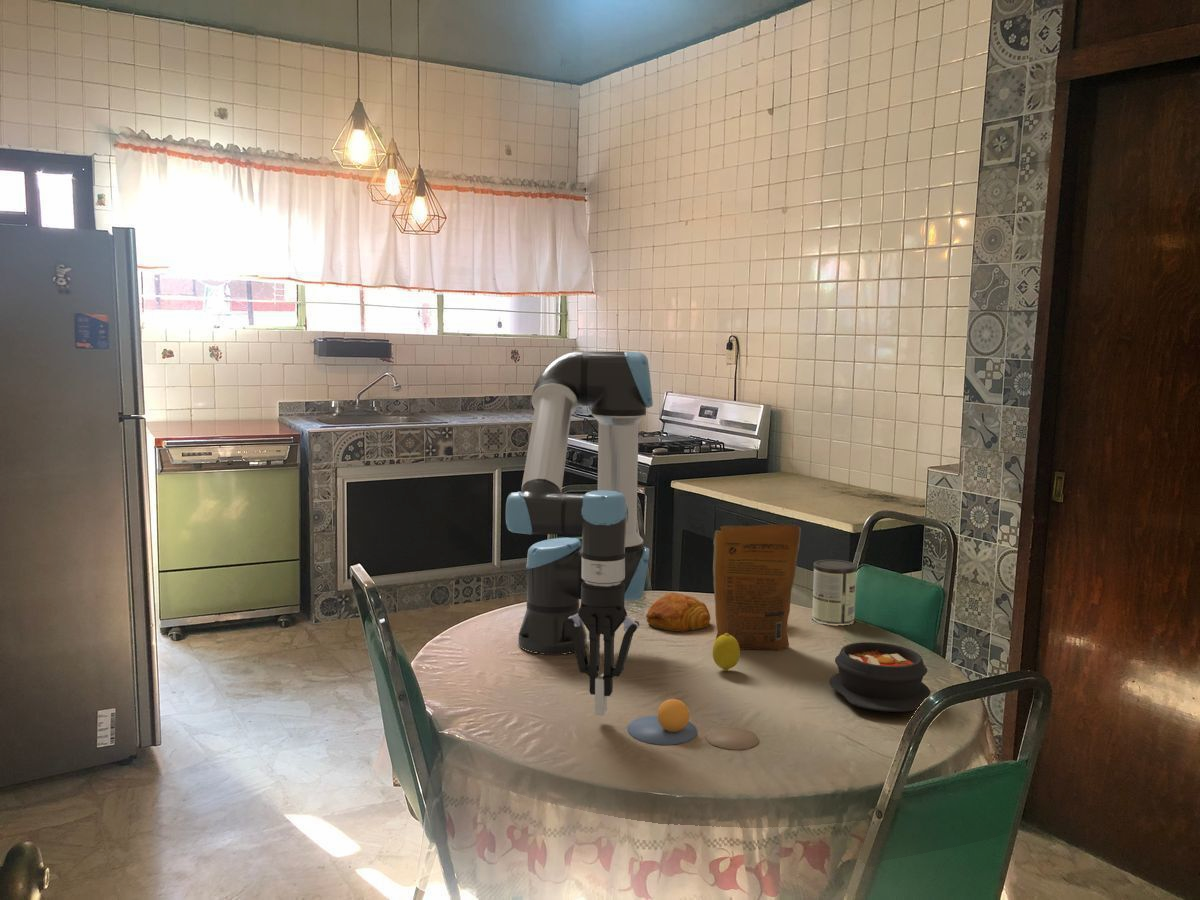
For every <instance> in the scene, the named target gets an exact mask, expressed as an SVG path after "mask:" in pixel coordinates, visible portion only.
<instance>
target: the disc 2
mask: <svg viewBox="0 0 1200 900" xmlns="http://www.w3.org/2000/svg"><path fill="white" fill-rule="evenodd" d="M704 737H705V740H706V741H707V743H709V744H710V745H712V746H714V747H715V748H720V749H724V750H729V751H730V750H732V751H733V750H734V751H737V750H738V751H741V750H748V749H753V748H754V747H755V746H757V745H758V744H759V742H760V738H759V736H758V735H757V734H756V733H754V732H753V731H751V730H749V729H746V728H743V727H738V726H717V727H714V728H711V729H709V730H707V731H706V733H705V736H704Z"/></svg>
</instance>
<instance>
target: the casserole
mask: <svg viewBox="0 0 1200 900" xmlns="http://www.w3.org/2000/svg"><path fill="white" fill-rule="evenodd" d="M834 662H835V665H836V666H837V667H838V672H837V673H835V674H834V675H832V676H831V677H830V678H829V685H830V686H831V688H832V689H833V690H835V691H836V692H838V693H839V694H840V695H842V696H843V697H844V698H845V699H846V700H847V702H849V703H850V704H851V705H853V706H854V707H855V706H856V707H858V708H862V709H867V710H872V711H878V712H884V713H885V712H886V713H887V712H889V713H905V712H906V713H907V712H908V713H909V712H913V711H916V710H917V708H918V707H919V706H920V705H921V704H922V703H923V702H924V701H923V700H924V699H925V698H927V697H928V696H929V695H930V694H932V693H931V689H930V688H929V687H928V685H926V684H925V683H924V682H923V678H924V677H925V675H926V674H927V673H928V668H927V666H926V664H924V660H923V657H922V656H921V654H920V653H918V652H916V651H914V650H912V649H909V648H907V647H904V646H901V645H895V644H892V643H891V644H890V643H886V642H885V643H883V642H876V641H875V642H871V641H869V642H864V641H863V642H854V643H848V644H845V645H844V646H842V648H841V649H840V651H839V653H838V655H837V656H835V658H834ZM930 696H931V695H930ZM930 696H929V697H930ZM922 701H923V702H922Z"/></svg>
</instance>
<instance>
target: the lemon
mask: <svg viewBox="0 0 1200 900" xmlns="http://www.w3.org/2000/svg"><path fill="white" fill-rule="evenodd" d="M740 654H741V649H740V648H739V644H738V642H737V640H736V639H735V638H734V637H733V636H731V635H729V634H728V633H725V634H724V635H721V636H719V637H718V638H717V639H716V638H715V639H714V643H713V646H712V658H713V661H714V663H715V665H716V666H717V667H719V668H720V669H722V670H723V671H724V672H727V671H728V670H730V669H733V668H734V667H735V666H736V665H737V664H738V662H739V660H740Z"/></svg>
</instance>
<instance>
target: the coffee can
mask: <svg viewBox="0 0 1200 900" xmlns="http://www.w3.org/2000/svg"><path fill="white" fill-rule="evenodd" d="M857 570H858V565H857V564H856V563H854V562H851V561H848V560H841V559H819V560H815V561H814V562H813V584H812V585H813V586H812V588H813V589H812V610H811V611H812V613H811V619H812V618H813V619H814V620H816V621H819V622H822V623H827V624H850V623H852V622H853V621H855V614H856V613H855V612H856V590H857V589H856V588H857V587H856V585H857V584H856V583H857Z"/></svg>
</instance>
